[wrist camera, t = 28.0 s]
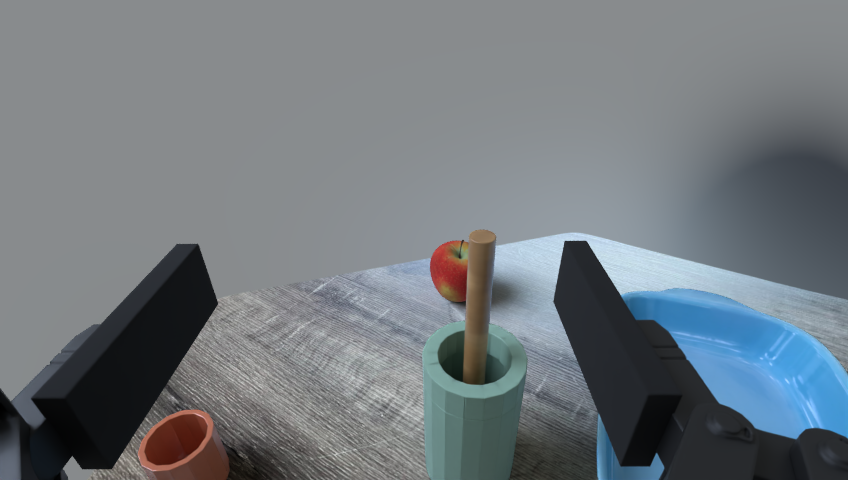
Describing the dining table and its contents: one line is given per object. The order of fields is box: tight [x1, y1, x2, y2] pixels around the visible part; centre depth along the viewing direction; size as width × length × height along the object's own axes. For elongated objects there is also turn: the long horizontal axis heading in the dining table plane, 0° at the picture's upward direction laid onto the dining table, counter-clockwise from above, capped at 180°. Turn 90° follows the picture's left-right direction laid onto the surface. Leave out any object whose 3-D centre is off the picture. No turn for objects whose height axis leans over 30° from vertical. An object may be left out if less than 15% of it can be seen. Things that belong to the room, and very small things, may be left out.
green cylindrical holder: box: [422, 320, 528, 480], centre depth 37 cm, size 8×8×14 cm
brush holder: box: [138, 409, 230, 480], centre depth 38 cm, size 6×6×6 cm
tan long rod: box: [463, 230, 496, 385], centre depth 34 cm, size 4×4×24 cm
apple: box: [430, 240, 469, 302], centre depth 60 cm, size 8×8×10 cm
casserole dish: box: [597, 288, 848, 480], centre depth 39 cm, size 37×22×7 cm, turn 159°
